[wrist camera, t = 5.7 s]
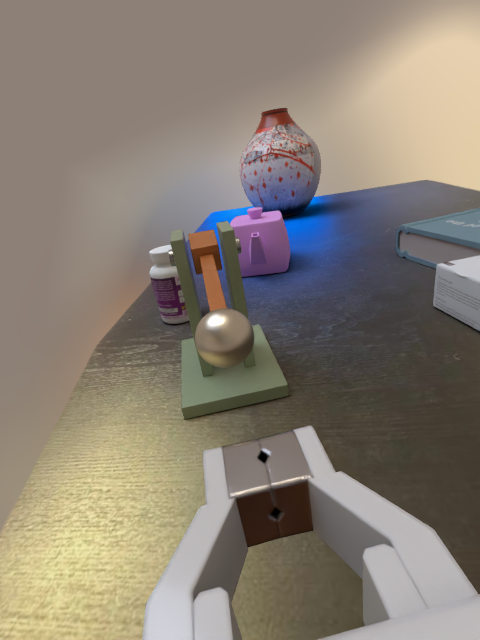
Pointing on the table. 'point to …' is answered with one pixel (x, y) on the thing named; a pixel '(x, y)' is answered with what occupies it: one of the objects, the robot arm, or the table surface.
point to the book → (440, 238)
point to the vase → (280, 165)
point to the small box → (459, 290)
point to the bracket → (210, 381)
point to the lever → (218, 310)
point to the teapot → (262, 242)
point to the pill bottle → (167, 287)
